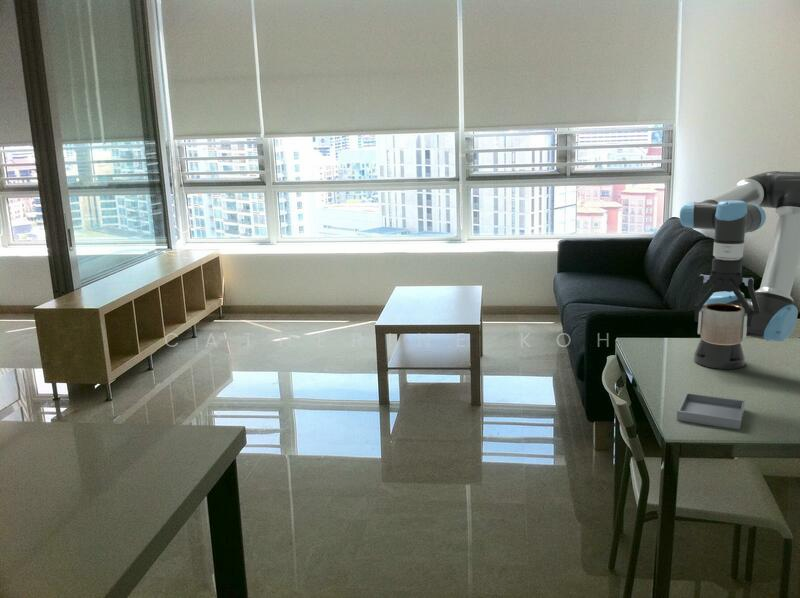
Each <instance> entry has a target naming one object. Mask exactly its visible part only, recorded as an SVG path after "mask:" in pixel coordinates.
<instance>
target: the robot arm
mask: <svg viewBox="0 0 800 598" xmlns="http://www.w3.org/2000/svg"><path fill="white" fill-rule="evenodd" d="M763 208H770V209H771V208H772V209H775V213H776V214H777V216H778V220H777V223H776V226H775V227H776V229H775V232H774V235H773V239H772V242H771V247H770V249H769V253H768V257H767V261H766V265H765V267H764V272H763V274H762V275H763V276H762V279H761V283H760V285H759V286H760V287H759V288H758V289H757V290H756V289H755V288H754V281H755V280H754V279H755V278H754V277H743V274H742V272H743V259H742V258H743V257H744V249H745V248H744V245H745V238H746V237H745V236H746V235H745V234H747V233H749V232H750V233H753V232H755V231H757V230H759V229H761V228H762V227H763V225H764V224H765V222H766V219H767V214H766V212H765V210H764V209H763ZM679 222H680V224H681V226H682V227H684V228H691V229H698V230H700V229H701V230H713V231H714V237H713V238H714V239H713V251H712V256H713V258H712V263H711V265H712V266H711V273H710V274H709V275H708V274H703V273H701V274H699V277H698V283H697V286H696V287H695V290H694V293H693V295H692V297H691V299H690V301H689V303H688V305H687V308H689V309H692V310H693V311H694V318H693V319H694V322H697V323H698V324H697V335H701V325H702V313H703V309H702V308H703V306H704V305H706V304H711V303H725V304H733V305H738V306H741V307H743V308H744V310H745V314H744V324H743V336H742V339H743V340H746V338H747V337H749V338H756V339H761V340H765V341H767V342H768V341H773V342H778V343H779V342H784V341H785V340H787V339H788V338H789V337H790V336H791V334H792V333H793V332H794V330H795V327H796V325H797V321H798V316H799V310H798V308H797V306H796V305H794V303H795V300H794V299H793V297H792V296H791V294H792V293H791V292H792V290H793V286H794V285H793V284H794V281H795V277H796V274H797V270H798V267H799V263H800V171H778V170H773V171H766V172H762V173H758V174H754V175H752V176H749V177H746V178H744V179H742V180H740V181H739V182H738V183H736V184H735V186H734V187H732V188H729V189H728V190H725V191H723V192H720V193H718V194H717V195H714V196H712V197H710V198H708V199H705V200H703V201H700V202H698V201H697V202H696V201H689V202H688V201H687V202H684V204H683V205H682V206H681V208H680V211H679ZM708 280H709V281H710V282H711V284H712V287H711V288H710V289H709V290H708V291H707V293H706V294H705V295H704V296H703V298H702V299H701V300H700V301H699V303H697V304H696V301H697V299H698V297H699V295H700V293H701V291H702V289H703V287H704V284H706V283H707V282H708ZM742 283H744V286H745V287H747V290H748V294H749V297H750V298H745V293H743V292H742V290H741V288H740V287H739V286H740V285H741V284H742ZM693 355H694V356H693V360H694V362H695V363H696V364H697V365H700V366H703V367H706V368H711V369H719V370H733V369H740V368H742V367H744V366H745V359H746V358H745V357H746V356H745V354H744V349H743V346H742V342H741V343H739V344H736V345H717V344H711V343H708V342H705V341H704V340H702V339H701V338H700V340H699V342H698V344H697V347H696V349H695V351H694V354H693Z"/></svg>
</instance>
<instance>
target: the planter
mask: <svg viewBox="0 0 800 598" xmlns="http://www.w3.org/2000/svg"><path fill="white" fill-rule="evenodd" d="M702 310H703V313H702V325H701V334H700V339H702V340H704V341H705V342H708V343H711V344H717V345H736V344H739V343H741V344H742V342H743V341H744V339H742V336H743V324H744V314H745V310H744V308H743V307H741V306H738V305H733V304H725V303H711V304H706V305H704V306H702Z"/></svg>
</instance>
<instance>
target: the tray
mask: <svg viewBox="0 0 800 598" xmlns="http://www.w3.org/2000/svg"><path fill="white" fill-rule="evenodd" d="M745 406H746V400H742V399H737V398H735V399H734V398H727V397H720V396H713V395H707V394H699V393H692V392H685V394H684V396H683V398H682V399H681V402H680V404H679V407H678V408H677V411H676V420H677V421H682V422H687V423H688V422H689V423H693V424H694V423H695V424H701V425H708V426H713V427H714V426H715V427H719V428H726V429H733V430H739V431H740V429H741V426H742V420H743V417H744V413H745Z"/></svg>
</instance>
